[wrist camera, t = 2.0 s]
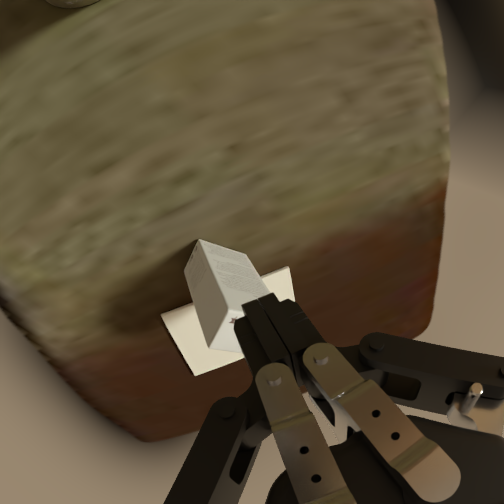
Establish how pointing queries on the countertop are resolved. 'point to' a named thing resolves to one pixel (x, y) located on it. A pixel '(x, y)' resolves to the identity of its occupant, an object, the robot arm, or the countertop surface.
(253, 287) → the skincare box
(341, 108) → the countertop surface
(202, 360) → the mat
